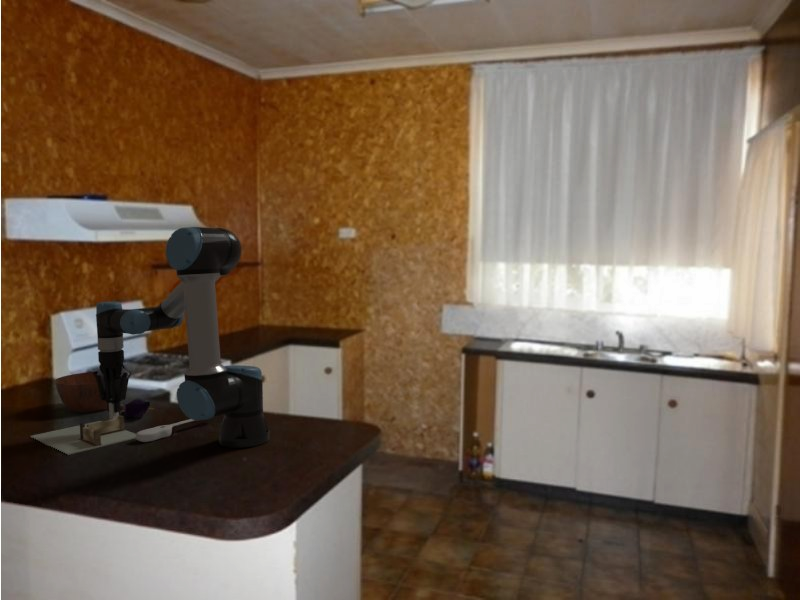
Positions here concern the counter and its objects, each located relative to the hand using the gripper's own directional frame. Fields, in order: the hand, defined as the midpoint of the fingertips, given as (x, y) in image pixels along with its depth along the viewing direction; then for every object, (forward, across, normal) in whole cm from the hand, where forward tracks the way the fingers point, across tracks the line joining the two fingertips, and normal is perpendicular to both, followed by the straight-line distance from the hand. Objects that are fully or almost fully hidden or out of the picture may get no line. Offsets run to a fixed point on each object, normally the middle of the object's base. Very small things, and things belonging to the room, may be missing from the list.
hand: (114, 421), depth 203 cm
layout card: (+3, +5, +7) cm, 9 cm away
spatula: (+3, -20, -4) cm, 21 cm away
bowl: (+4, +30, -26) cm, 40 cm away
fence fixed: (+3, -1, +12) cm, 13 cm away
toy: (+3, +4, -16) cm, 17 cm away
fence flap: (+2, 0, +4) cm, 5 cm away
